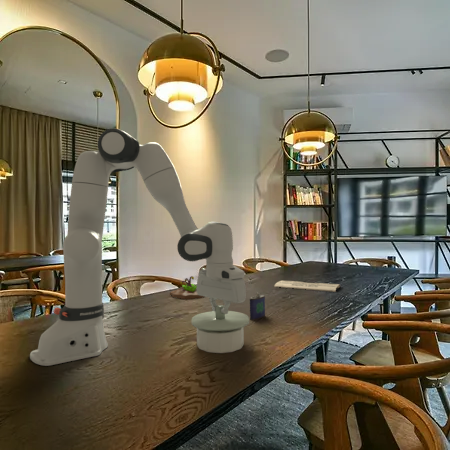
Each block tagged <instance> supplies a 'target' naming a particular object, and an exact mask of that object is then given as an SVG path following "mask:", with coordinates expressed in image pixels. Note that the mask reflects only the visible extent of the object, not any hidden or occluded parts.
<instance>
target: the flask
mask: <svg viewBox="0 0 450 450" xmlns="http://www.w3.org/2000/svg"><path fill="white" fill-rule="evenodd" d="M265 316H266V296H265V295H261V292H260V293H259V292H256V294H255V296H251V297H249V321H257V320H260V319H262V318H265Z"/></svg>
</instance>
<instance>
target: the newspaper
mask: <svg viewBox="0 0 450 450" xmlns="http://www.w3.org/2000/svg"><path fill="white" fill-rule="evenodd" d="M273 286H274V288H279V287H281V289H292V288H294V290H305V289H306V290H307V291H319V292H332V293H336V292H337V291H336V290H337V289H339V288H340V287H341V285H340V284H338V283H325V282H323V283H322V282H309V281H296V280H295V281H294V280H279V281H277V282H276V283H275V284H274V285H273Z"/></svg>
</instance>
